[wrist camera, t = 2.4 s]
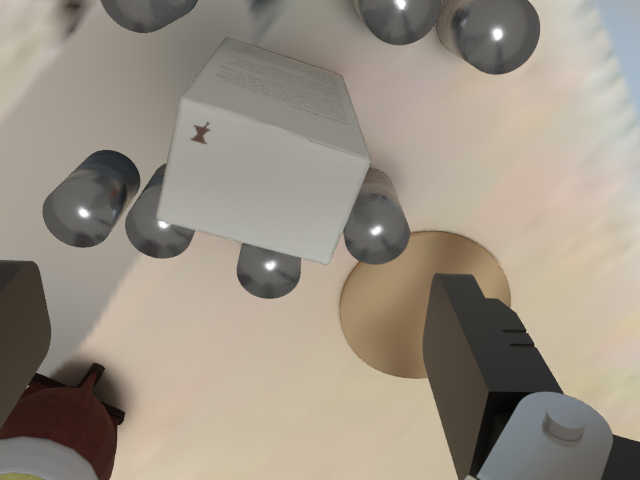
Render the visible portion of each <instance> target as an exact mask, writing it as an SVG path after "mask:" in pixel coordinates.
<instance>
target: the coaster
mask: <svg viewBox="0 0 640 480" xmlns="http://www.w3.org/2000/svg"><path fill="white" fill-rule="evenodd" d="M436 273H454V274H472V275H473V276H474V277H475V279H476V281H477V283H478V285H479V287H480V289H481V290H482V292H483V294H484V296H485V298H498V299H499V300H500V301H502V302H503V303H504V304H505V305H507V306H508V307H509V308H510V305H511V295H510V289H509V284H508V281H507V278H506V276H505V274H504V272H503V270H502V269H501V267H500V265H499V264H498V263H497V261H496V260H495V258H494V257H493V256H492V255H491V254H490V253H489V252H488V251H487V250H486V249H485V248H483V247H482V246H480V245H479V244H478V243H476V242H474V241H472V240H470V239H468V238H465V237H463V236H460V235H457V234H452V233H447V232H438V231H427V232H417V233H411V234H410V238H409V242H408V245H407V247H406V248H405V250H404V251H403V252H402V254H401V255H400V256H398V257H397V258H396V259H394V260H392V261H390V262H388V263H384V264H379V265H372V264H366V263H363V262H361V261H360V262H359V263H358V265H357V266H356V267H355V268H354V270H353V271H352V273H351V274H350V276H349V277H348V279H347V281H346V283H345V286H344V289H343V292H342V295H341V301H340V318H341V325H342V330H343V333H344V336H345V338H346V340H347V342H348V344H349V346H350V347H351V348H352V350H353V351H354V352H355V353H356V355H357V356H358V357H359V358H360V359H362V360H363V361H364V362H365V363H367V364H368V365H370V366H371V367H373V368H375V369H377V370H379V371H381V372H383V373H386V374H389V375H393V376H397V377H403V378H413V379H418V378H428V375H427V372H426V369H425V365H424V360H423V349H422V343H423V332H424V326H425V320H426V314H427V308H428V301H429V295H430V289H431V283H432V279H433V276H434V275H435V274H436Z"/></svg>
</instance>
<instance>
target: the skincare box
mask: <svg viewBox="0 0 640 480" xmlns="http://www.w3.org/2000/svg"><path fill="white" fill-rule="evenodd" d="M371 161H372V159H371V156H370V154H369V151H368V149H367V146H366V143H365V140H364V137H363V135H362V132H361V129H360V126H359V123H358V120H357V117H356V114H355V111H354V109H353V106H352V102H351V99H350V97H349V94H348V90H347V88H346V85H345V82H344V79H343V77H342V76H340V75H337V74H334V73H332V72H329V71H326V70H323V69H320V68H317V67H314V66H311V65H308V64H305V63H302V62H299V61H296V60H293V59H291V58H288V57H285V56H282V55H279V54H276V53H273V52H270V51H267V50H264V49H261V48H258V47H255V46H252V45H249V44H246V43H243V42H240V41H237V40H234V39H231V38H226V39H225V40H224V41H223V42H222V44H221V45H220V46H219V48H218V49H217V50H216V52H215V53H214V54H213V56H212V57H211V58H210V59H209V61H208V62H207V63H206V65H205V66H204V67H203V69H202V70H201V71H200V73H199V74H198V75H197V77H196V78H195V80H194V81H193V82H192V84H191V86H190V87H189V88H188V89H187V90H186V91H185V93H184V94H183V95H182V96H181V97H180V99H179V103H178V109H177V114H176V119H175V124H174V129H173V135H172V140H171V144H170V149H169V154H168V160H167V164H166V169H165V174H164V179H163V184H162V189H161V193H160V198H159V203H158V208H157V213H156V218H157V219H158V220H159V221H162V222H166V223H170V224H174V225H177V226H181V227H185V228H188V229H192V230H196V231H200V232H203V233H207V234H211V235H215V236H218V237H222V238H226V239H230V240H234V241H237V242H241V243H245V244H249V245H253V246H257V247H261V248H265V249H269V250H272V251H276V252H280V253H284V254H288V255H291V256H295V257H299V258H302V259H306V260H310V261H313V262H317V263H320V264H323V265H328V264H329V263H330V261H331V258H332V256H333V254H334V251H335V249H336V246H337V244H338V242H339V239H340V237H341V234H342V232H343V230H344V227H345V225H346V222H347V220H348V217H349V215H350V213H351V210H352V208H353V205H354V203H355V201H356V198H357V196H358V193H359V191H360V188H361V186H362V183H363V181H364V178H365V176H366V174H367V171H368V169H369V166H370V164H371Z"/></svg>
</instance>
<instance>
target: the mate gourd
mask: <svg viewBox="0 0 640 480" xmlns="http://www.w3.org/2000/svg"><path fill="white" fill-rule="evenodd" d="M104 369H105V368H104V367H103V366H101V365H99V364H97V363H94V364H93V365H92V366H91V367H90V369H89V370H88V372H87V373H86V375H85V376H84V378H83V380H82V381H81V383H80V384H79V385H78V387H77V388H74V387H68V386H66V385H63V384H61V383H59V382H57V381H54V380H52V379H50V378H48V377H46V376H43V375H41V374H38V373H35V375H34V376H33V378H32V379H31V381H30V383H29V384H28V385H29V387H28V388H27V389H26V390H25V391H24V392H23V394H22V395H21V397H20V399H19V400H18V402H17V403H16V405H15V407H14V408H13V410H12V411H11V413H10V415H9V416H8V418H7V420H6V421H5V423H4V424H3V426H2V428H1V429H0V480H109V479H110V477H111V474H112V470H113V466H114V459H115V453H116V447H117V425H120V424H121V423H122V422H123V421H124V415H125V413H124V412H123V411H121V410H119V409H116V408H114V407H112V406H110V405H108V404H105V403H103V402H101V401H99V400H98V399H97V398H96V397H95V396H94V395H93V394H92V389H93V388H94V386H95V385H96V383H97V382H98V380H99V379H100V377H101V375H102V374H103V372H104Z"/></svg>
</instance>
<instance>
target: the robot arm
mask: <svg viewBox="0 0 640 480" xmlns="http://www.w3.org/2000/svg"><path fill="white" fill-rule="evenodd" d="M50 340H51V325H50V320H49V315H48V310H47V305H46V300H45V295H44V290H43V285H42V281H41V276H40V271H39V268H38V266H37V264H35V262H33V261H14V260H13V261H12V260H0V429H1V428H2V426H3V424H4V423H5V421H6V420H7V418H8V416H9V415H10V413H11V411H12V410H13V408H14V407H15V405H16V403H17V402H18V400H19V399H20V397H21V395H22V394H23V392H24V391H25V389H26V387H27V386H28V384H29V383H30V381H31V379H32V378H33V376H34V375H35V373H36V371H37V370H38V368H39V366H40V365H41V363H42V362H43V360H44V358H45V356H46V355H47V352H48V349H49V346H50ZM422 349H423V360H424V365H425V369H426V372H427V375H428V379H429V382H430V385H431V389H432V392H433V395H434V399H435V402H436V406H437V409H438V412H439V416H440V419H441V422H442V426H443V429H444V432H445V436H446V439H447V442H448V446H449V449H450V453H451V456H452V459H453V463H454V466H455V469H456V473H457V476H458V479H459V480H640V442H638V441H634V440H630V439H626V438H623V437H619V436H616V435H614V434H612V431H611V429H610V427H609V425H608V423H607V422H606V421H605V419H604V418H603V417H602V416H601V415H600V414H599V413H598V412H597V411H596V410H594V409H593V408H592V407H590V406H589V405H587V404H585V403H584V402H582V401H580V400H578V399H576V398H573V397H570V396H568V395H564V393H563V391H562V390H561V388H560V386H559V385H558V383H557V381H556V380H555V378H554V376H553V374H552V373H551V371H550V369H549V368H548V366H547V364H546V363H545V361H544V359H543V358H542V356H541V354H540V352H539V351H538V349H537V348H535V347H534V342H533V341H532V339H531V337H530V336H529V334H528V333H526V329H525V327H524V325H523V324H522V322H521V320H520V319H519V317H518V315H517V314H516V313H515V312H514V311H513V310H512V309H510V308H509V307H508V306H507V305H505V304H504V303H503V302H502V301H500V300H499V299H498V298H485V296H484V294H483V292H482V290H481V289H480V287H479V285H478V283H477V281H476V279H475V277H474V276H473V275H472V274H454V273H436V274H435V275H434V276H433V279H432V283H431V289H430V295H429V301H428V308H427V314H426V320H425V326H424V332H423V343H422Z"/></svg>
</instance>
